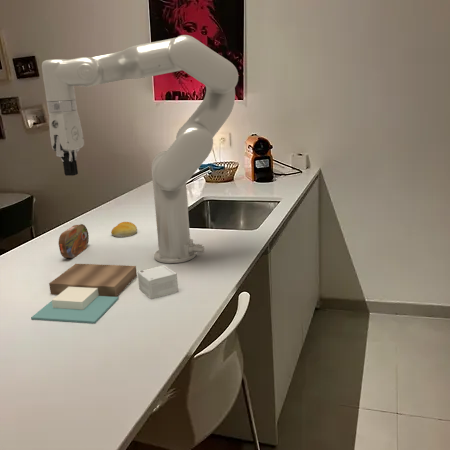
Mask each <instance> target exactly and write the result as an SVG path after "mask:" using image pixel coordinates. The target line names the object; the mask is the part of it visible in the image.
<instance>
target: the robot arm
mask: <svg viewBox="0 0 450 450" xmlns="http://www.w3.org/2000/svg"><path fill="white" fill-rule="evenodd" d="M180 71H183V72H184V73H187V74H188V75H189V76H191V77H193V79H195V80H196V81H198V82H199V83H201V84H203V85H204V86H205V90H206V91H205V95H204V98H203V99H202V101H201V103H200V104H199V106H198V107H197V108H196V110H195V111H194V112H193V113H192V114H191V115H190V117H189V118H188V119H187V120H186V122H185V123H184V124H183V125H182V126H181V127H180V128H179V129H178V130H177V133H176V137H175V138H176V139H175V140H174V141H173V143H172V144H171V145H170V146H169V148H168V149H166V150H164V151H160V152H159V153H158V154H156V155H155V157H154V158H153V160H152V161H151V170H150V171H151V179H152V187H153V196H154V210H155V221H156V231H157V241H158V250H156V251H155V252H154V254H153V256H154V260H155V261H157V262H159V263H163V264H178V263H185V262H188V261H190V260H193V259H194V258H195V257H196V256H197V253H199V254H204V253H205V246H203V244H201V243H198V244H197V243H196V244H195V243H194V239H193V238H191V235H190V233H191V232H190V221H189V207H188V205H189V203H188V191H187V190H188V189H187V183H188V181H189V180H190V179H191V178H192V177H193V175H194V174H195V173H196V172H197V171H198V170H199V168H200V167H201V166H202V165H203V163H204V162H205V161H206V159H208V157H209V156H210V153H211V151H213V146H214V138H215V136H216V135H217V133H218V132H219V131H220V129H221V128H222V127H223V125H224V124H225V123H226V121H227V120H228V119H229V117H230V115H231V114H232V111H233V109H234V105H235V100H236V89H235V88H236V86H237V85H238V82H239V72H238V69H237V67H236V66H235V65H234V64H233V62H231V61H230V60H228V59H227V58H225V57H224V56H222V55H220V54H219V53H217V52H216V51H214V50H213V49H211V48H210V47H208V46H207V45H206V44H204V43H202V42H201V41H200V40H198V39H197V38H195V37H193V36H192V35H188V34H181V35H178V36H177V37H173V38H168V39H163V40H156V41H152V42H148V43H146V42H145V43H141V44H140V43H139V44H136V45H132V46H129V47H127V48H125V49H124V50H120V51H116V52H112V53H107V54H102V55H97V56H92V57H89V56H82V57H76V58H70V59H65V58H56V59H45V60H43V61H42V63H41V72H42V79H43V80H42V81H43V84H44V85H43V86H44V93H45V100H46V107H47V113H48V115H49V116H48V125H49V126H48V127H49V137H50V145H51V148H52V150H53V151H54V152H56V153H55V155H56V157H59V158H60V160H61V161H62V164H63V165H62V166H63V172H64V175H65V176H67V177H68V176H71V177H73V176H76V175H79V170H78V163H77V160H78V153H79V151H80V150H81V148H83V147H84V146H85V139H84V132H83V127H82V123H81V119H80V115H79V112H78V106H77V98H76V91H75V90H76V89H75V87H83V88H84V87H85V88H90V87H93V86H98V85H102V84H108V83H113V82H119V81H124V80H138V79H139V80H140V79H145V78H150V77H154V76H159V75H164V74H165V75H166V74H170V73H175V72H180Z"/></svg>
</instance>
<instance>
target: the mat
mask: <svg viewBox="0 0 450 450" xmlns="http://www.w3.org/2000/svg"><path fill="white" fill-rule="evenodd" d="M118 300H119V296H117V297H110V296H98V297H97V298H95V299H94V300H93V301H92V302H91V303H90V304H89V305H88V306H87V307H86V308H85V309H84V310H80V309H64V308H53V305H52V300H50V302H48V303H46V305H44V307H42V308H41V309H39V310H38V311H37V312H36V313H34V314H33V315H32V316H31V320H35V321H50V322H51V321H53V322H64V323H65V322H66V323H80V324H81V323H82V324H96V323H97V322H98V321H99V320H100V319H101V318H102V317H103V316H104V315H105V314H106V313H107V311H108V310H109V309H111V308H112V306H114V304H116V302H118Z"/></svg>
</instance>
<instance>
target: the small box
mask: <svg viewBox="0 0 450 450" xmlns="http://www.w3.org/2000/svg"><path fill="white" fill-rule="evenodd" d="M137 278H138V280H137V281H138V287H139V290H140V292H142V293H143V294H144V295H145V296H147V297H148V298H149V299H150V300H154V299H157V298H160V297H165V296H167V295H171V294H175V293H178V292H179V283H178V274H177V272H175V271H174V270H172V269H171V268H169V267H167V265H164V264H162V265H159V266H155V267H151V268H147V269H143V270H139V271H137Z"/></svg>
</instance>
